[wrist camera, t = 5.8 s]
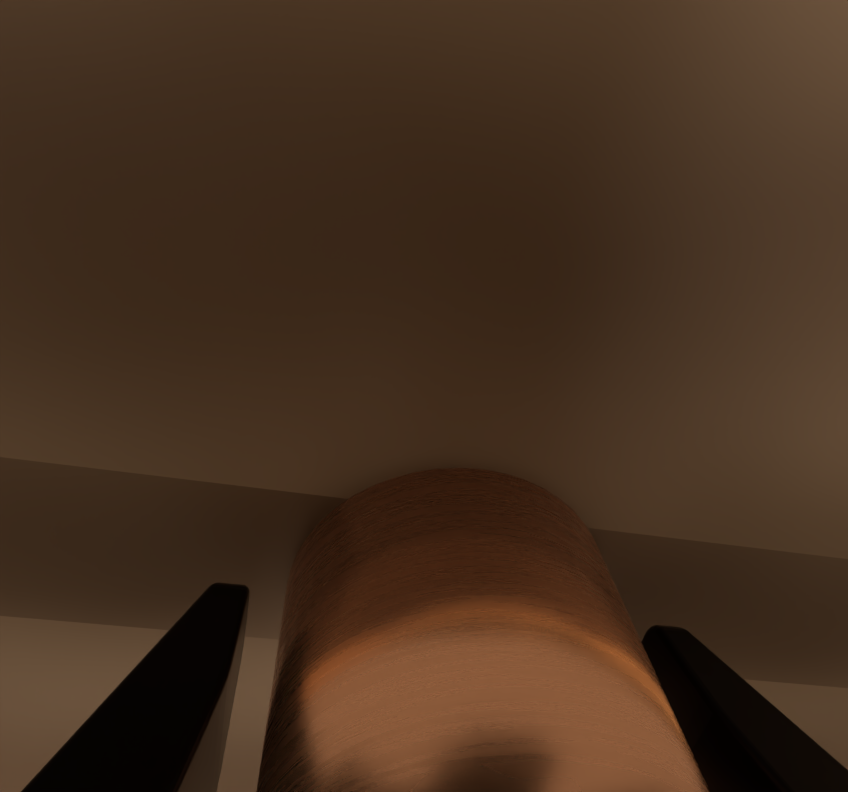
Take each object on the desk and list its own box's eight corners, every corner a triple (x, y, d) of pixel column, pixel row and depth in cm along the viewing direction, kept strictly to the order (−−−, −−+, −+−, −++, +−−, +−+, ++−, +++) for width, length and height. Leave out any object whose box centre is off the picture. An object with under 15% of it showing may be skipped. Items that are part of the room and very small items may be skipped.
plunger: (501, 536, 13) (637, 1030, 7) (297, 512, 13) (220, 1032, 6) (560, 353, 11) (826, 776, 5) (326, 314, 11) (264, 743, 4)
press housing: (666, 741, 17) (745, 923, 13) (-14, 694, 14) (-137, 905, 11) (1055, 44, 10) (1432, 44, 6) (-141, -285, 7) (-603, -584, 4)
